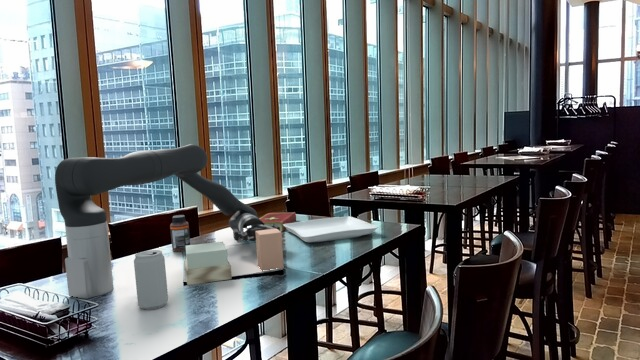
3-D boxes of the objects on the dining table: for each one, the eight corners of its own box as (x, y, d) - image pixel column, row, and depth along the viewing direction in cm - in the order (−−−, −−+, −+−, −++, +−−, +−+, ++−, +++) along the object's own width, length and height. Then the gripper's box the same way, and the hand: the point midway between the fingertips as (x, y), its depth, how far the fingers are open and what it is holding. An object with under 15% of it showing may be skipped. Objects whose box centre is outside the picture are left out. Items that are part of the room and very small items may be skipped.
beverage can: (159, 311, 103) (154, 256, 102) (132, 310, 104) (127, 256, 103) (173, 300, 109) (169, 249, 108) (148, 300, 110) (143, 249, 109)
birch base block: (187, 286, 120) (186, 271, 120) (185, 275, 131) (184, 260, 130) (231, 280, 124) (230, 265, 123) (226, 269, 134) (225, 255, 134)
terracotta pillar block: (262, 271, 129) (259, 234, 128) (257, 266, 135) (255, 230, 134) (283, 268, 131) (281, 232, 130) (278, 263, 136) (276, 228, 135)
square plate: (349, 224, 189) (349, 214, 189) (379, 237, 163) (379, 226, 163) (282, 232, 181) (282, 222, 180) (303, 247, 155) (302, 235, 155)
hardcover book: (296, 221, 202) (295, 211, 201) (283, 232, 181) (282, 221, 181) (269, 222, 204) (268, 212, 203) (252, 232, 183) (252, 221, 183)
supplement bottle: (175, 247, 163) (172, 214, 162) (193, 247, 162) (190, 214, 161) (169, 252, 157) (166, 218, 156) (187, 251, 156) (184, 217, 155)
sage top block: (188, 269, 121) (186, 253, 121) (186, 260, 131) (185, 245, 130) (228, 264, 124) (227, 249, 124) (223, 255, 134) (222, 241, 133)
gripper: (228, 218, 155) (236, 226, 140) (271, 213, 160) (283, 221, 144) (230, 241, 156) (237, 252, 141) (273, 235, 161) (285, 246, 145)
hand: (261, 236), depth 143 cm, fingers open, 8 cm apart
